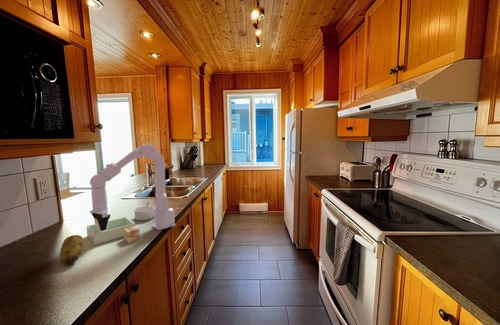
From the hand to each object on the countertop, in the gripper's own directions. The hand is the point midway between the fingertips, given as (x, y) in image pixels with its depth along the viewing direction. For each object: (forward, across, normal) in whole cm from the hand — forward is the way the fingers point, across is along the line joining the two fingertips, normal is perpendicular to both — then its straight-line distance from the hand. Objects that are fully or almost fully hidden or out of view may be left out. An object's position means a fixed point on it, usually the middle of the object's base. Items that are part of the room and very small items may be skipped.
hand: (101, 228), depth 106 cm
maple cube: (+4, +12, +9) cm, 16 cm away
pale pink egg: (+2, 0, 0) cm, 2 cm away
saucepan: (+5, -15, +27) cm, 31 cm away
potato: (+5, +13, -14) cm, 19 cm away
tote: (+4, 0, +4) cm, 6 cm away
